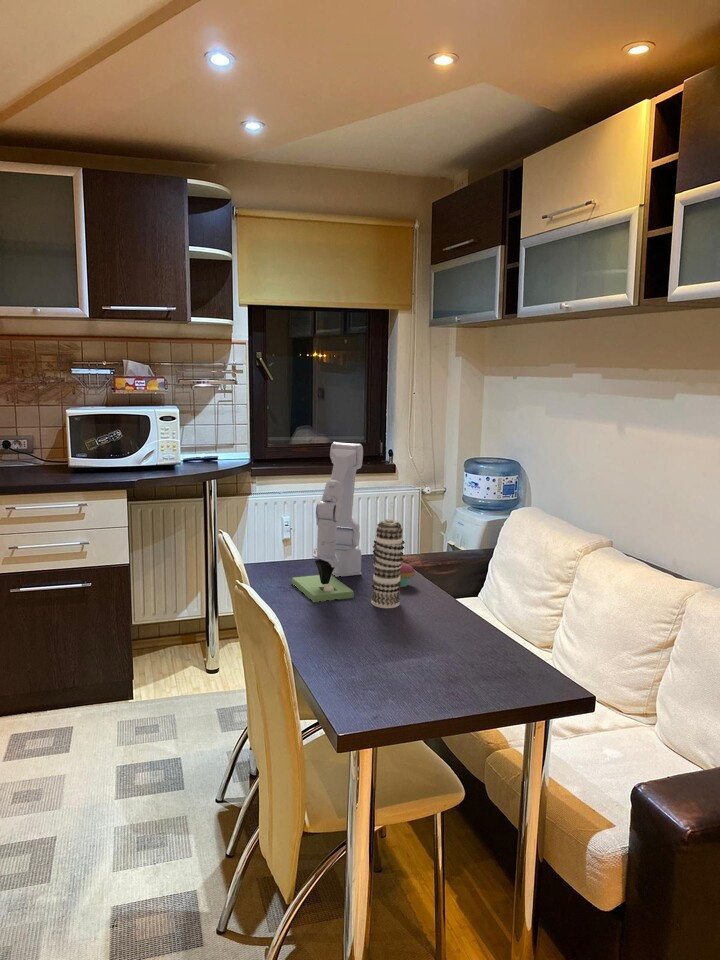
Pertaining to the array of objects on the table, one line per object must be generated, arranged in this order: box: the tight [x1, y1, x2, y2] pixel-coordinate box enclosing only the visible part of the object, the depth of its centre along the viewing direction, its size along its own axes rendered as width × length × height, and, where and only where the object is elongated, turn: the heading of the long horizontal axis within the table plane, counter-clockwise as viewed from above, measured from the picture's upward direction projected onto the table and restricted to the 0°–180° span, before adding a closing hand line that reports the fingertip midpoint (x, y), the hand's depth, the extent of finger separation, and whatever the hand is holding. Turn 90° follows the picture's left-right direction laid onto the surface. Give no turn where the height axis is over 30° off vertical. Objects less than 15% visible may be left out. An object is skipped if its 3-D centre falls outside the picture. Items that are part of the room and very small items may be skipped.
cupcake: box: [400, 561, 416, 588], centre depth 231 cm, size 9×8×12 cm
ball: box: [323, 585, 334, 592], centre depth 218 cm, size 3×3×3 cm
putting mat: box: [291, 574, 354, 603], centre depth 222 cm, size 13×18×2 cm
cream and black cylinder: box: [370, 519, 406, 609], centre depth 212 cm, size 9×9×25 cm
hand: (324, 583), depth 220 cm, fingers closed
